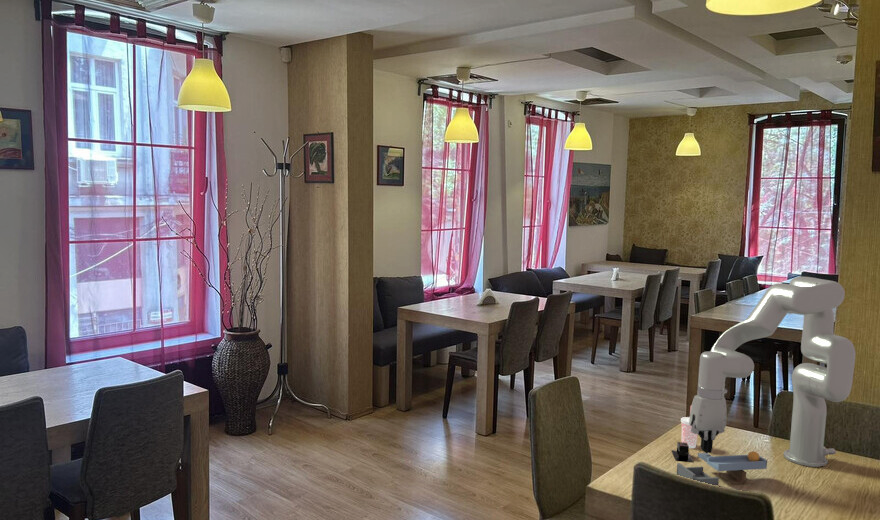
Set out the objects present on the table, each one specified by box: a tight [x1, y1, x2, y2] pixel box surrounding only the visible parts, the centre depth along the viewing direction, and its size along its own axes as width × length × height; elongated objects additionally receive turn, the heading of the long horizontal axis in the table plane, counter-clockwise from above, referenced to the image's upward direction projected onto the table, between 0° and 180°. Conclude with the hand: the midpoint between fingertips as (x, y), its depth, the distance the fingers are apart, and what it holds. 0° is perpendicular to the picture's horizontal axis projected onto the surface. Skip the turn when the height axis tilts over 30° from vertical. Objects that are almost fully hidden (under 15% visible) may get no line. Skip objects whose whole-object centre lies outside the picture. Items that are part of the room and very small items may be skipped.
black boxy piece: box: [671, 441, 695, 463], centre depth 218 cm, size 12×7×5 cm, turn 170°
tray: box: [676, 462, 720, 486], centre depth 199 cm, size 8×8×4 cm
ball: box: [747, 451, 760, 462], centre depth 202 cm, size 3×3×3 cm
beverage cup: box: [680, 404, 698, 449], centre depth 227 cm, size 6×6×14 cm
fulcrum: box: [719, 470, 753, 486], centre depth 201 cm, size 6×7×4 cm
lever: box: [697, 452, 768, 472], centre depth 204 cm, size 16×11×3 cm
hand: (706, 451), depth 206 cm, fingers closed
